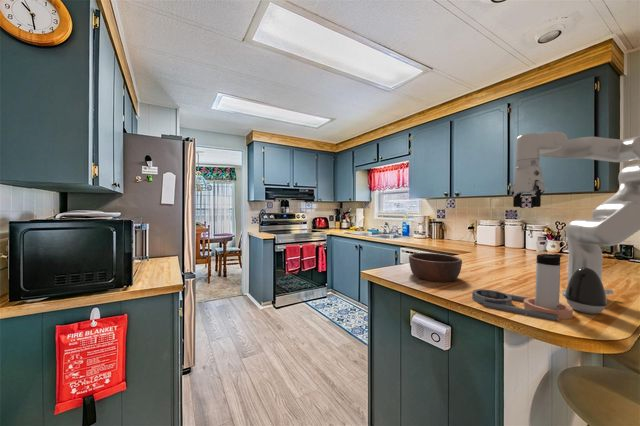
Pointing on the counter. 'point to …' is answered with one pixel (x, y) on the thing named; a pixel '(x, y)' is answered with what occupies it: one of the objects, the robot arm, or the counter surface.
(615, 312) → the counter surface
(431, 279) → the wooden bowl
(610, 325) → the counter surface
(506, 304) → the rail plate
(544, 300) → the travel mug
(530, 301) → the marked socket
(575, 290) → the dark gray tall dome
